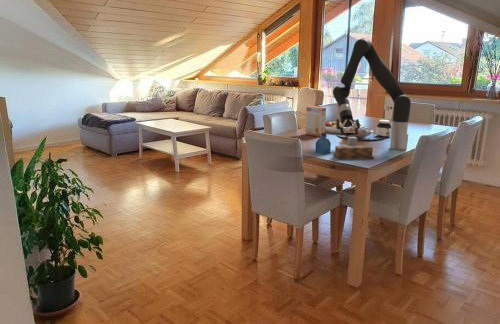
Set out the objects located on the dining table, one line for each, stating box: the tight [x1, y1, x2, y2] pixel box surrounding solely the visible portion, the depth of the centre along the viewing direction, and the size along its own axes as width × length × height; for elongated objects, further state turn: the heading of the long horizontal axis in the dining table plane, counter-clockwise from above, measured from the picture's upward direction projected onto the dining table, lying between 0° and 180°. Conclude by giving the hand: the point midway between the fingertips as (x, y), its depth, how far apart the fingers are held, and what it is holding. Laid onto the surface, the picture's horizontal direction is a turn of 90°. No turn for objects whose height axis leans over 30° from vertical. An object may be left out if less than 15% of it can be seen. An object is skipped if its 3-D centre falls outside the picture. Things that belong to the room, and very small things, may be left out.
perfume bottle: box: [314, 132, 332, 155], centre depth 231 cm, size 6×6×12 cm
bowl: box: [325, 120, 345, 135], centre depth 300 cm, size 30×30×8 cm
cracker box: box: [305, 105, 327, 138], centre depth 281 cm, size 14×6×21 cm, turn 40°
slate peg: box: [346, 136, 359, 146], centre depth 234 cm, size 4×4×9 cm
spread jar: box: [375, 119, 392, 138], centre depth 281 cm, size 12×11×12 cm
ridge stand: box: [333, 145, 375, 160], centre depth 223 cm, size 20×10×6 cm, turn 95°
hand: (349, 134), depth 237 cm, fingers open, 8 cm apart
